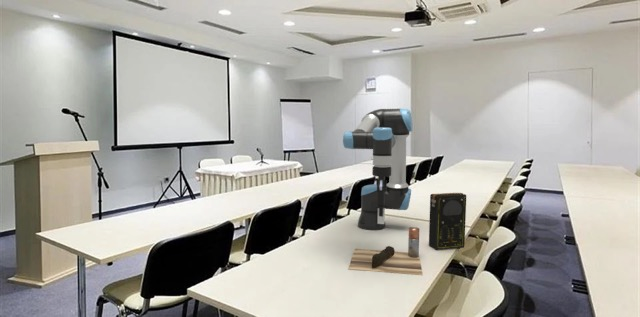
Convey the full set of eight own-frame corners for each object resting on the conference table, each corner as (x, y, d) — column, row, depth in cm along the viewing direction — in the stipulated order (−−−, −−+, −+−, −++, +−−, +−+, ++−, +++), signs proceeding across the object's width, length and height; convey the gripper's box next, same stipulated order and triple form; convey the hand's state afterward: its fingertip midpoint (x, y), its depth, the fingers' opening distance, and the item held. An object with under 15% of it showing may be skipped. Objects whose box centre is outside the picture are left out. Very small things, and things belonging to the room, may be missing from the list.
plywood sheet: (354, 249, 166) (354, 248, 166) (418, 253, 160) (418, 253, 160) (348, 269, 142) (348, 268, 142) (422, 275, 137) (422, 274, 137)
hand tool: (386, 253, 159) (386, 243, 159) (394, 255, 157) (394, 245, 157) (365, 267, 144) (365, 256, 144) (375, 269, 142) (375, 258, 141)
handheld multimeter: (436, 251, 163) (438, 196, 161) (426, 245, 172) (427, 192, 169) (466, 248, 167) (468, 194, 165) (455, 242, 176) (456, 191, 174)
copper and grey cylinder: (407, 253, 160) (408, 226, 158) (418, 254, 159) (419, 227, 158) (408, 257, 155) (408, 229, 154) (418, 258, 154) (419, 230, 153)
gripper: (373, 164, 154) (372, 218, 157) (371, 167, 142) (370, 227, 144) (391, 164, 153) (390, 219, 155) (390, 168, 140) (389, 228, 142)
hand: (380, 223), depth 150 cm, fingers closed
